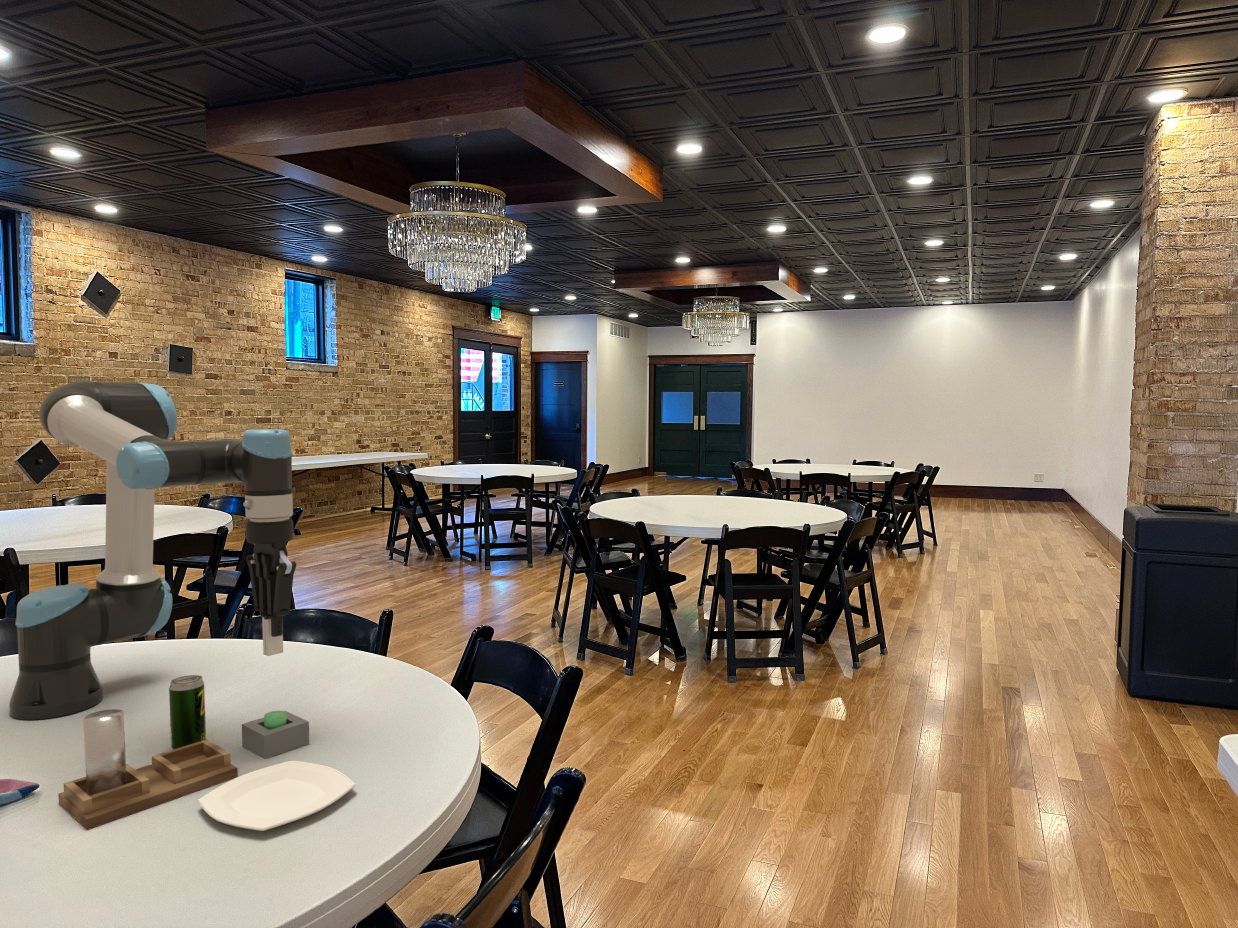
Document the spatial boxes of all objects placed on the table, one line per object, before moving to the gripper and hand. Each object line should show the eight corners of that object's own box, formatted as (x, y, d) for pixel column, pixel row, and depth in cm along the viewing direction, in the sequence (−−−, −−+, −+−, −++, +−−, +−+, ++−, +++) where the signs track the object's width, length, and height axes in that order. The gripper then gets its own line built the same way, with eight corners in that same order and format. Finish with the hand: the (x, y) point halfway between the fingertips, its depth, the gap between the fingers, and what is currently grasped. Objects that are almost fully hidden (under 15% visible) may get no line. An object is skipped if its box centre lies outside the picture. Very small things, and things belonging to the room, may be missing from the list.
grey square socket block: (242, 746, 139) (241, 723, 139) (286, 732, 145) (285, 710, 145) (265, 758, 134) (264, 735, 134) (309, 743, 140) (308, 721, 140)
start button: (260, 731, 139) (260, 714, 139) (280, 725, 142) (279, 708, 142) (270, 736, 137) (270, 719, 137) (290, 730, 140) (290, 713, 140)
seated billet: (81, 795, 118) (78, 716, 117) (119, 783, 122) (116, 706, 121) (94, 805, 115) (90, 724, 114) (132, 793, 119) (129, 714, 118)
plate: (259, 852, 106) (259, 838, 106) (179, 813, 116) (178, 800, 116) (373, 794, 122) (373, 781, 122) (294, 764, 133) (293, 753, 132)
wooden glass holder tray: (58, 803, 119) (57, 780, 119) (204, 756, 135) (203, 736, 135) (87, 829, 111) (86, 805, 111) (237, 776, 128) (237, 755, 127)
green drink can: (172, 756, 135) (170, 686, 134) (170, 745, 140) (167, 678, 139) (208, 748, 138) (205, 681, 137) (204, 738, 143) (202, 672, 142)
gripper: (229, 517, 138) (233, 651, 140) (267, 524, 130) (271, 666, 132) (271, 513, 144) (275, 641, 146) (310, 519, 136) (313, 655, 137)
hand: (273, 653), depth 139 cm, fingers closed
